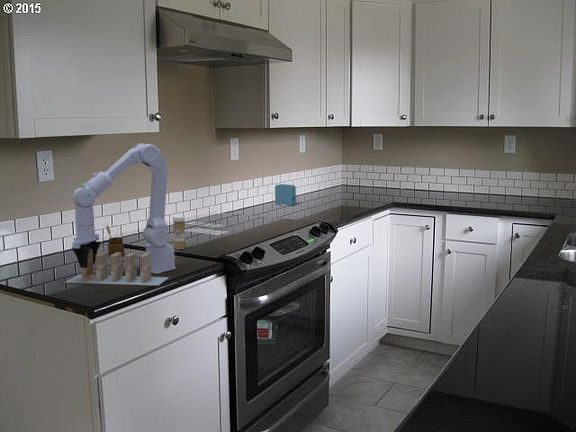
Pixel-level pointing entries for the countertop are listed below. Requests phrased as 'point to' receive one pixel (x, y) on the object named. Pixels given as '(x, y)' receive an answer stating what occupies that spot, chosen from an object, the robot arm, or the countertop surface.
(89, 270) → the domino
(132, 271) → the domino
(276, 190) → the data package
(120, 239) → the utensil holder
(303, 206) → the countertop surface
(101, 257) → the domino
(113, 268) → the domino
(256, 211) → the countertop surface
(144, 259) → the domino
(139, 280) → the mat
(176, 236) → the sprinkles bottle
